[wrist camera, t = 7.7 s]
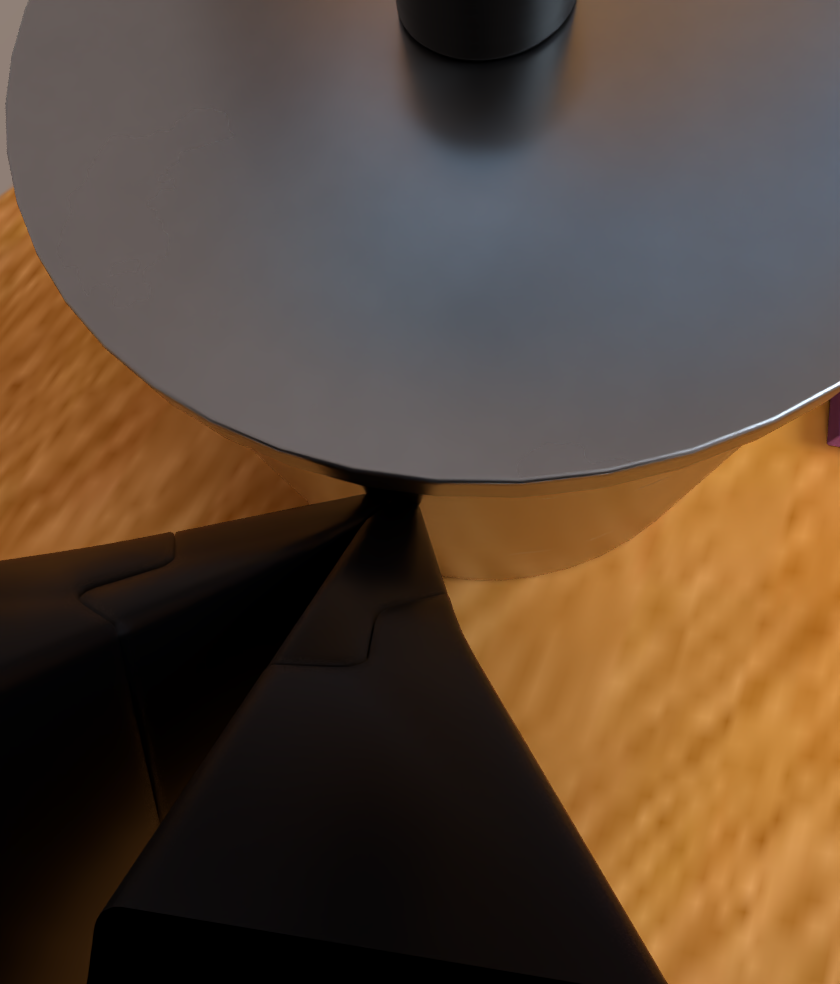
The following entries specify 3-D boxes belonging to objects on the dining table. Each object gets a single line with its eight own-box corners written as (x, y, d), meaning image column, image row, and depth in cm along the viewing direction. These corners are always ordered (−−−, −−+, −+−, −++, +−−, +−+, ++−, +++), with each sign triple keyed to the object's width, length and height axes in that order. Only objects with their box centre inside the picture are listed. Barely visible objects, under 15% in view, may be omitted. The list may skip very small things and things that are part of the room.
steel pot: (757, 661, 14) (1532, 645, 4) (153, 521, 17) (-415, 274, 6) (806, 185, 18) (1290, -547, 7) (293, 128, 20) (78, -475, 10)
